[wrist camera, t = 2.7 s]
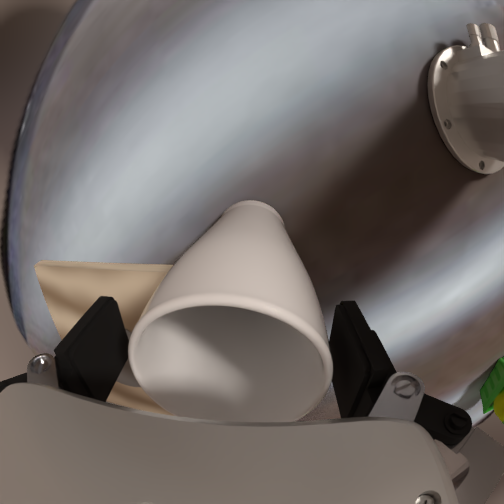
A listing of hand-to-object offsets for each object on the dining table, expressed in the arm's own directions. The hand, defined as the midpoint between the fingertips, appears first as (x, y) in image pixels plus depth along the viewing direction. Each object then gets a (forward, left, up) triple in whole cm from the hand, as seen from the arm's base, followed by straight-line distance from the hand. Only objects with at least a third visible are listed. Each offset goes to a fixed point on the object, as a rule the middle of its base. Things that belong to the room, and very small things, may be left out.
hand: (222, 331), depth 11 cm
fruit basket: (+25, +45, -12) cm, 52 cm away
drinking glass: (0, +1, -12) cm, 12 cm away
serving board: (+14, -14, -12) cm, 23 cm away
